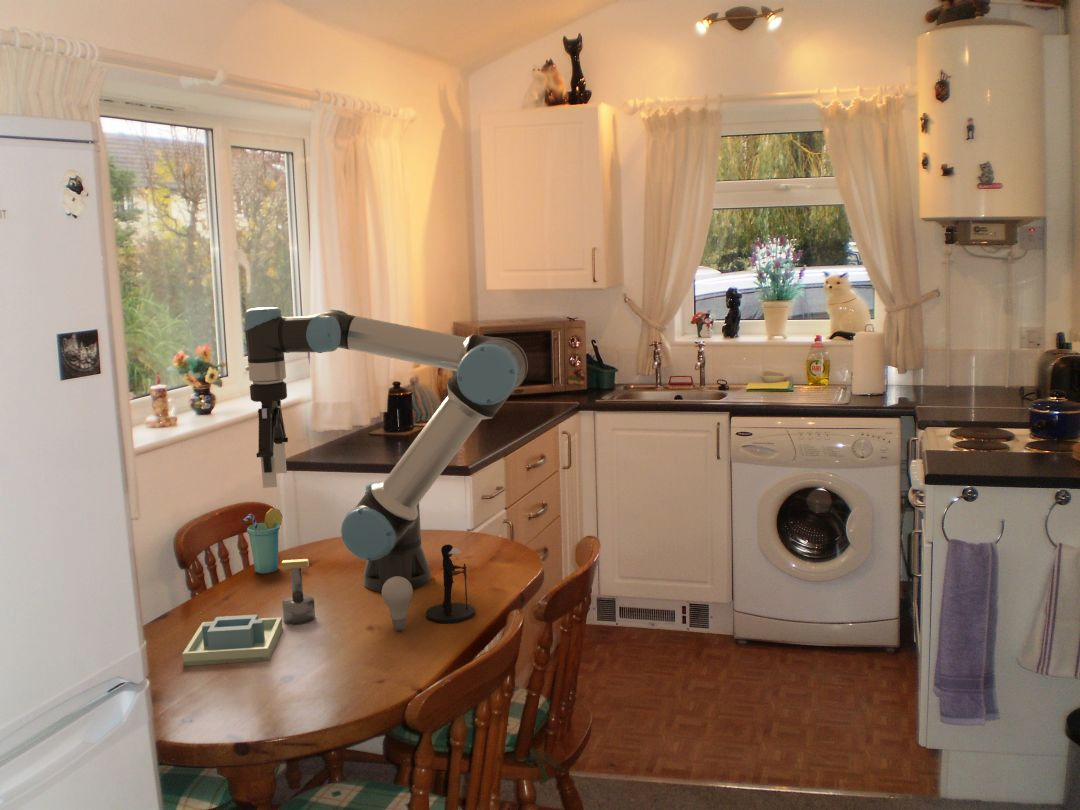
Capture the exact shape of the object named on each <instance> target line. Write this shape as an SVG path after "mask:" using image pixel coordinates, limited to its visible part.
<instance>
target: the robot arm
mask: <svg viewBox="0 0 1080 810" xmlns="http://www.w3.org/2000/svg"><path fill="white" fill-rule="evenodd" d="M281 311H282V310H281V309H280V308H279V307H276V306H275V307H272V306H271V307H270V306H268V307H266V306H265V307H254V308H252V307H251V308H249V309H247V310H246V311H245V313H244V330H243V331H244V333H245V343H246V344H245V345H246V352H247V353H246V354H247V366H245V371H247V372H248V377H249V378H248V379H249V380H248V381H250V382H251V383H250V384H249V393H250V394H249V395H250V400H251V401H252V402H255V403H257V402H260V403H261V408H258V410H257V413H258V451H257V452H256V458H260V464H261V465H260V466H261V477H262V479H261V480H262V489H265V488H268V489H269V488H277V487H278V482H277V474H287V471H288V470H287V458H286V443H288V442H289V438H288V437H287V435H286V434H287V433H286V428H285V425H284V423H285V422H284V418H283V413H282V412H283V411H282V401H284V400H285V399H287V398H288V389H287V382H286V381H285V379H286V378H287V373H286V360H285V354H290V353H317V354H323V353H330V352H335V351H337V349H338V348H340V349H343V350H349V351H350V350H351V351H356V352H360V353H364V354H370V355H375V356H381V357H385V358H390V359H395V360H399V361H405V362H409V363H413V364H419V365H424V366H428V367H429V366H430V367H434V368H439V369H444V370H449V371H454V372H455V373H454V374H453V375H452V376H451V378H450V379H449V381H448V382H447V383H446V389H447V396H446V397H445V398H444V400H443V401H442V402H441V404H440V405H439V406H438V408H437V409H436V411H435V412H434V413H433V414H432V416H431V417H430V419H429V420H428V422H427V423H426V424H425V425H424V426H423V428H422V430H421V431H420V432H419V433H418V435H417V436H416V437H415V439H414V440H413V441H412V443H411V444H410V446H409V447H408V448H407V450H406V451H405V452H404V453H403V455H402V456H401V458H400V459H399V461H398V462H397V463H396V464H395V466H394V467H393V468H392V470H391V471H390V472H389V473H388V475H387V476H386V478H385V479H384V480H383V481H375V482H370V483H367V484H366V486H365V492H364V495H363V496H362V498H361V499H360V501H359V502H358V503H357V505H355V507H354V508H353V509H351V510H350V511H348V512H347V514H346V515H345V517H344V519H343V520H342V523H341V528H340V534H341V538H342V539H341V540H342V542H343V544H344V546H345V547H346V549H347V550H348V551H349V552H350V553H351V554H352V555H353V556H355V557H357V558H358V559H360V560H364V561H366V563H365V567H364V570H363V575H362V577H363V586H364V587H365V588H367V589H369V590H372V591H377V592H382V587H383V585H384V583H385V582H386V581H387V580H388V579H390V578H392V577H395V576H400V577H404V578H405V579H407V580H408V581H409V582H410V583H411V585H412V588H413V590H416V589H419V588H421V587H424V586H426V585H428V584H429V583H430V582H431V581H432V571H431V567H430V566H429V565H430V564H429V562H428V560H427V557H426V554H425V552H424V549H423V547H422V546H423V545H422V532H421V531H422V530H421V529H422V528H421V513H420V502H421V501H422V500H423V498H424V497H425V496H426V494H427V493H428V491H429V490H430V489H431V487H432V486H433V485H434V484H435V482H436V481H437V480H438V478H439V477H440V476H441V474H442V473H443V472H444V470H445V469H446V468H447V466H448V465H449V464H450V462H452V459H454V457H455V456H456V455H457V453H458V452H459V451H460V450H461V448H462V446H464V444H465V443H466V441H467V440H468V438H469V437H470V436H471V435H472V433H473V432H474V431H475V430H476V428H477V427H478V425H479V424H480V423H481V421H483V420H489V419H490V420H491V419H493V418H494V416H495V415H496V414H497V413H498V411H499V410H500V408H501V407H502V406H503V405H504V403H505V402H506V401H507V400H508V398H509V397H510V395H511V394H512V393H514V391H515V390H517V388H519V387H520V386H521V385H522V384H523V382H524V380H525V379H526V376H527V374H528V369H529V362H528V358H527V355H526V353H525V351H524V349H523V348H522V347H521V345H519V344H518V343H517V342H515V341H514V340H511V339H508V338H505V337H494V336H487V335H480V334H474V333H472V334H470V335H469V336H467V337H466V336H460V335H455V334H449V333H445V332H440V331H435V330H430V329H425V328H420V327H413V326H409V325H404V324H398V323H395V322H394V323H392V322H387V321H384V320H379V319H373V318H368V317H362V316H358V315H353V314H349V313H347V312H346V311H343V310H337V309H330V310H326V311H324V312H319V313H316V314H312V315H311V314H310V315H305V316H282V315H283V314H282V312H281Z"/></svg>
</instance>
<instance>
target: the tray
mask: <svg viewBox="0 0 1080 810" xmlns="http://www.w3.org/2000/svg"><path fill="white" fill-rule="evenodd" d="M259 619H260V618H258V620H259ZM262 619H263V623H264V635H265V640H264V642H263V643H254V646H253V648H239V649H224V650H209V647H208V646H204V642H203V631H202V626H203V624H204V623H210V622H211V621H202V622H201V624H200V626H199V627H198V629H197V630H196V632H194V633H195V634H194V635H193V636H192V638H191V639H190V641H189V642H188V644H187V646H186V647H185V649H184V650H183V652H182V654H181V656H182V665H183V667H188V666H203V665H205V666H206V665H217V664H220V665H221V664H232V663H233V664H235V663H238V664H239V663H250V662H251V663H252V662H263V661H264V662H266V661H267V662H268V661H270V658H271V656H272V653H273V652H274V649H275V647H276V645H277V643H278V641H279V638H280V636H281V633H282V631H283V617H282V616H280V617H265V618H263V617H262Z"/></svg>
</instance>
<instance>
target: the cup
mask: <svg viewBox="0 0 1080 810" xmlns="http://www.w3.org/2000/svg"><path fill="white" fill-rule="evenodd" d="M250 519H251V521H252V524H251V525H249V526H248V527H247V529H246V533H247V534H248V537H249V542H250V547H251V548H250V549H251V553H252V559H253V565H254V571H255V573H256V574H257V573H258V574H270V573H274V572H276V571H278V569H279V531H280V526H282V522H283V514H282V512H281V510H280V509H277V508H272V507H271V508H269V510H267V512H265V516H264V521H263V522H258V523H257V519H256V517H255V515H254V514H252V513H248V515H247V516H246V517H244V518H243V519H242V521H241V522H242V523H244V524H245V523H247V522H248V521H249V520H250Z"/></svg>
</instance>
